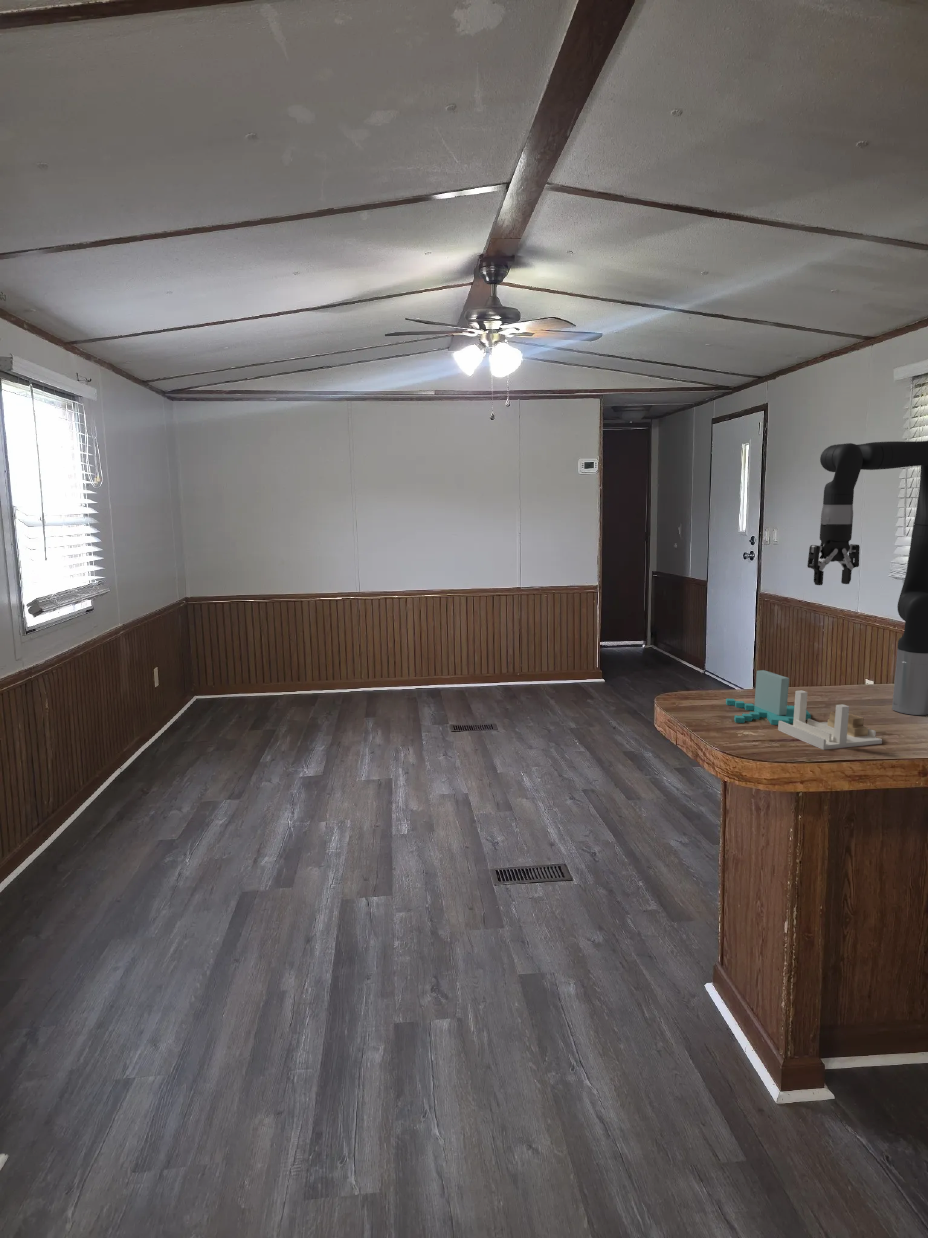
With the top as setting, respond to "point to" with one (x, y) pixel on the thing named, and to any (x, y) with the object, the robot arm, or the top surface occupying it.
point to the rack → (824, 728)
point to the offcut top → (850, 719)
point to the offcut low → (852, 729)
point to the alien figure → (763, 713)
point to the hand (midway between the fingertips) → (831, 584)
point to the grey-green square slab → (771, 692)
